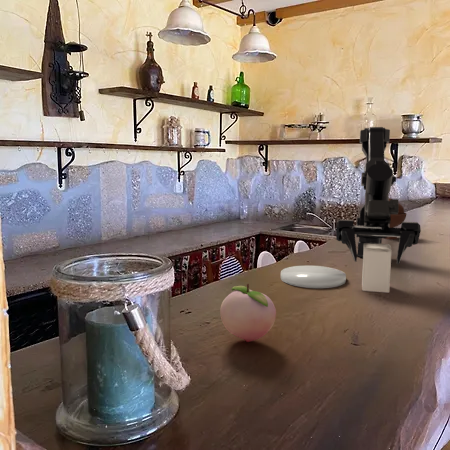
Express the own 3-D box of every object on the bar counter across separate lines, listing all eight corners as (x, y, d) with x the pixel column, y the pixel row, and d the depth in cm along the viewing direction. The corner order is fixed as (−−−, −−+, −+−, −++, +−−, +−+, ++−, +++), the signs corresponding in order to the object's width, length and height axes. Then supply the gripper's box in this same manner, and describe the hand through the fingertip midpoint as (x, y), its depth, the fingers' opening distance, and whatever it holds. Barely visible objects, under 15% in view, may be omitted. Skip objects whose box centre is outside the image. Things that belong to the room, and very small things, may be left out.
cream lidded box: (361, 283, 108) (363, 243, 107) (387, 285, 107) (389, 244, 105) (362, 290, 103) (364, 247, 101) (389, 292, 101) (391, 249, 100)
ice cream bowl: (386, 241, 161) (388, 200, 159) (368, 236, 172) (370, 197, 170) (411, 239, 164) (414, 199, 162) (392, 234, 175) (394, 196, 172)
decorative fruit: (209, 341, 75) (208, 283, 73) (242, 328, 80) (242, 274, 79) (250, 359, 68) (251, 296, 67) (284, 343, 74) (285, 284, 72)
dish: (317, 268, 123) (317, 263, 123) (359, 282, 109) (360, 276, 109) (268, 275, 116) (268, 269, 116) (306, 291, 102) (306, 285, 102)
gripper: (337, 186, 107) (334, 239, 99) (422, 187, 102) (426, 244, 93) (338, 214, 116) (334, 266, 107) (415, 217, 111) (418, 271, 102)
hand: (376, 261), depth 102 cm, fingers open, 9 cm apart
